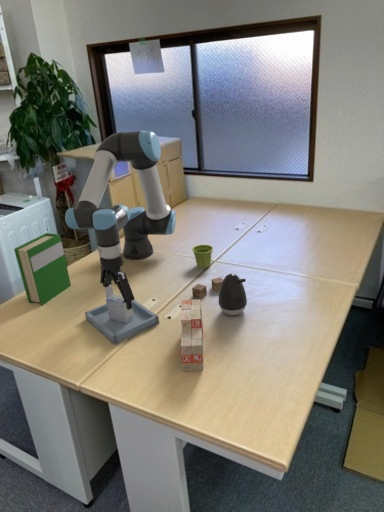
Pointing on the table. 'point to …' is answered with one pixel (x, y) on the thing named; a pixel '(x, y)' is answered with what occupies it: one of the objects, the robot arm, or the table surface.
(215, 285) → the walnut block
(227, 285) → the pump dispenser
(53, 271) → the hardback book
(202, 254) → the plant pot
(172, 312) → the table surface
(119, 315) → the medicine box
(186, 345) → the stack of blocks
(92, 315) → the tray
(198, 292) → the walnut block
